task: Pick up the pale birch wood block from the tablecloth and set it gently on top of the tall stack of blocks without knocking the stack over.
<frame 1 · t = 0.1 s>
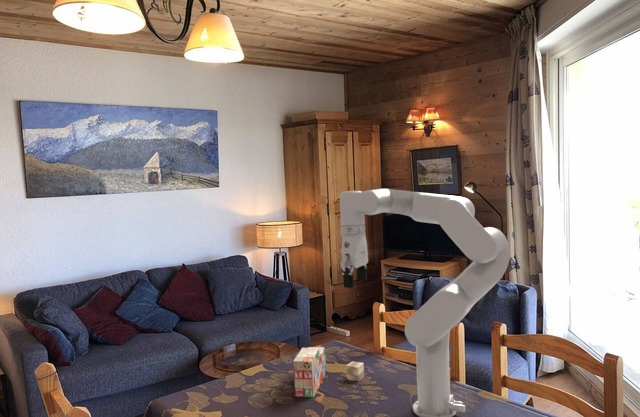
hand: (355, 284, 159), 37 cm above the table, tool pointing down, fingers open, 9 cm apart
stack of blocks: (311, 384, 174), on the table
birch block: (355, 378, 177), on the table
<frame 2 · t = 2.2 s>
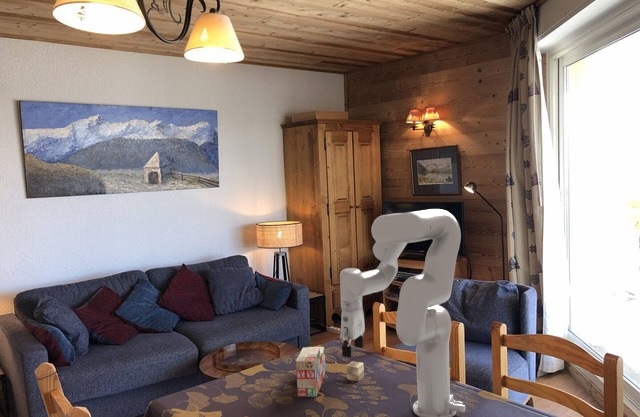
hand: (352, 351, 177), 9 cm above the table, tool pointing down, fingers open, 9 cm apart
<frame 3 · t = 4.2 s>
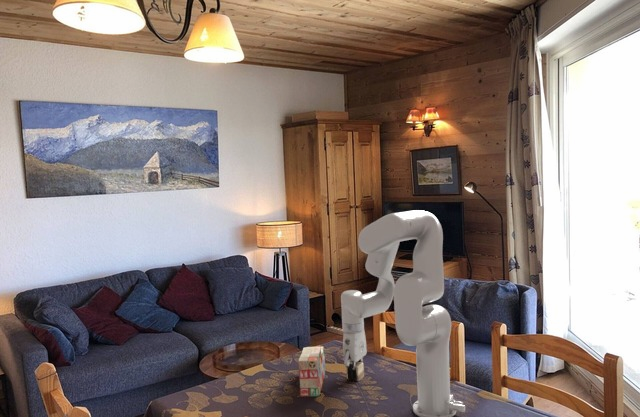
hand: (355, 376, 177), 0 cm above the table, tool pointing down, fingers closed on birch block, 4 cm apart
birch block: (355, 378, 177), on the table, touching gripper
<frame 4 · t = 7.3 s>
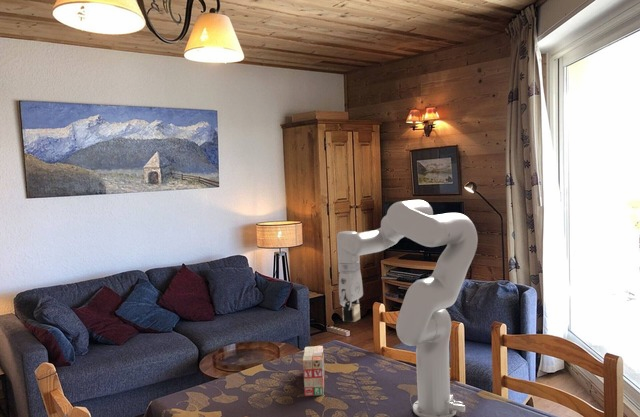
hand: (351, 318, 175), 21 cm above the table, tool pointing down, fingers closed on birch block, 4 cm apart
birch block: (351, 319, 175), point 21 cm above the table, touching gripper
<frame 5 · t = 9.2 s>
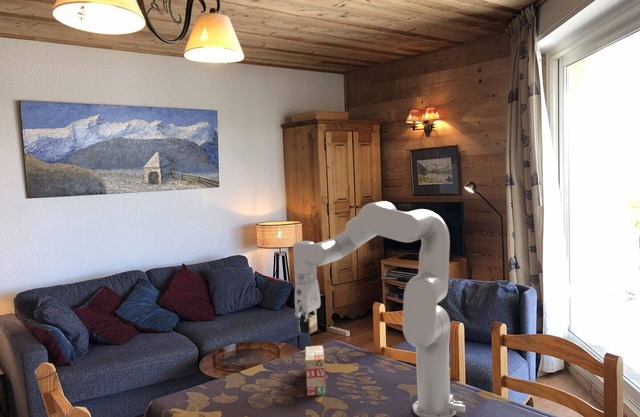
hand: (308, 329, 173), 19 cm above the table, tool pointing down, fingers closed on birch block, 4 cm apart
birch block: (308, 330, 173), point 19 cm above the table, touching gripper
when the fingers open (14 cm above the table, at t = 10.6 s): birch block drops 1 cm, resting on stack of blocks.
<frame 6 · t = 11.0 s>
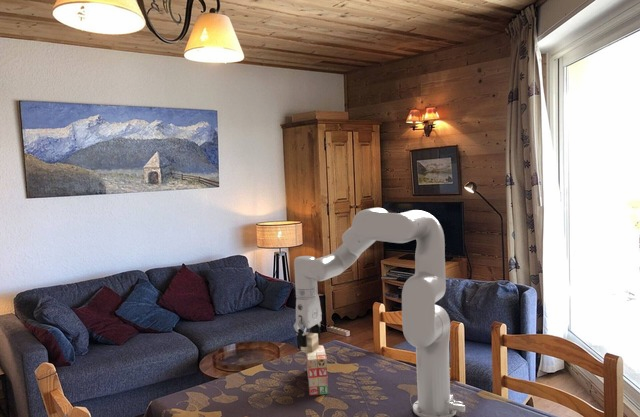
hand: (309, 342, 173), 15 cm above the table, tool pointing down, fingers open, 8 cm apart
stack of blocks: (317, 382, 175), on the table, touching birch block
birch block: (309, 349, 173), point 12 cm above the table, touching stack of blocks
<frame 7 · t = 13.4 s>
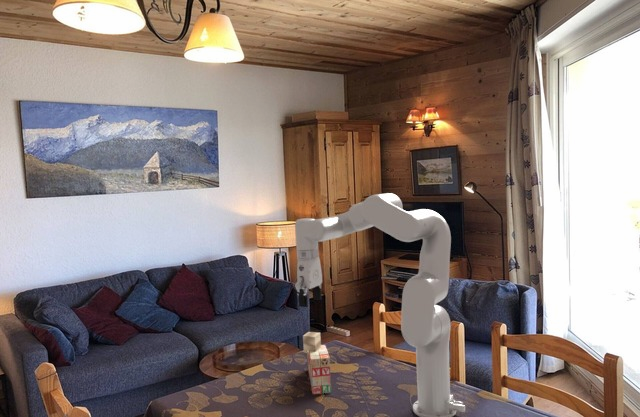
hand: (310, 303, 175), 27 cm above the table, tool pointing down, fingers open, 9 cm apart
stack of blocks: (319, 381, 176), on the table
birch block: (312, 348, 174), point 12 cm above the table
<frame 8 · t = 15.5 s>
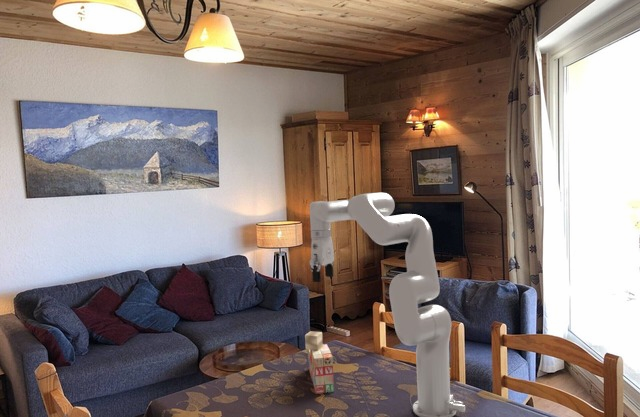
hand: (323, 279, 190), 32 cm above the table, tool pointing down, fingers open, 9 cm apart
stack of blocks: (320, 381, 176), on the table, touching birch block
birch block: (314, 347, 174), point 12 cm above the table, touching stack of blocks
at the end: birch block inside the target area on the stack of blocks (2.1 cm from its centre), point 12.5 cm above the stack of blocks's base; stack of blocks tilted 0°; the gripper is holding nothing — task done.
